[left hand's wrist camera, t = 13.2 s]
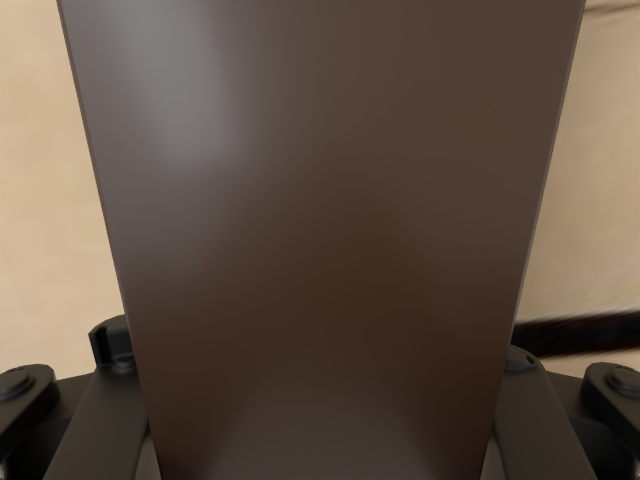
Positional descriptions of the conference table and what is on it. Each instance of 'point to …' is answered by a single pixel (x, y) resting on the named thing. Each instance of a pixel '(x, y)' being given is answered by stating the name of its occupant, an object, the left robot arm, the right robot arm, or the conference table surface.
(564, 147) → the conference table surface
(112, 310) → the conference table surface
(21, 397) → the left robot arm
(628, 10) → the conference table surface
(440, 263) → the beam
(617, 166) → the conference table surface
